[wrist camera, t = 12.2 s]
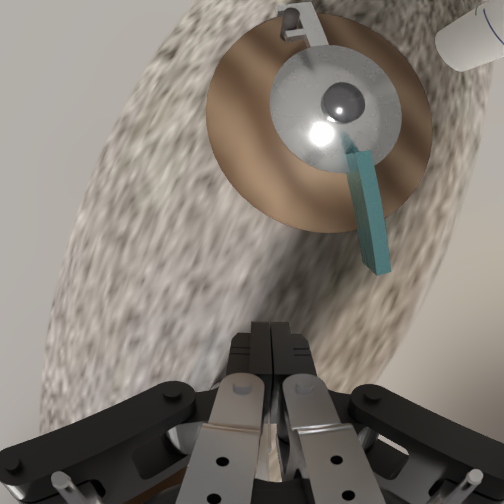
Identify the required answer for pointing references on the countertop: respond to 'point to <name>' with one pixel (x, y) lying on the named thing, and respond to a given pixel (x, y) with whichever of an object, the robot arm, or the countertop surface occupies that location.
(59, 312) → the countertop surface
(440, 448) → the robot arm
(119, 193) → the countertop surface
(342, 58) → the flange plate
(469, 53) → the cylindrical container
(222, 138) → the base plate
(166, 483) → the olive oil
